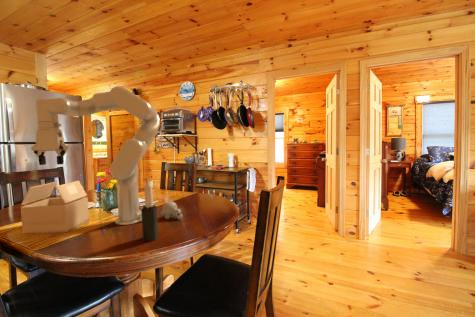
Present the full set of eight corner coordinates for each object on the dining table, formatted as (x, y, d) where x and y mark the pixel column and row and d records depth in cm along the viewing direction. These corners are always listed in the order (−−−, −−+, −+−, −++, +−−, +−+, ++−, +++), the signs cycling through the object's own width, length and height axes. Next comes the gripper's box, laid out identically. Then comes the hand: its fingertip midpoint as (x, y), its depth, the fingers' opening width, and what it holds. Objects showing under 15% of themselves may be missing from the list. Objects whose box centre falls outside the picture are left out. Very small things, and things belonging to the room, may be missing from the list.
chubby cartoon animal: (174, 226, 114) (179, 212, 112) (157, 215, 118) (161, 200, 116) (184, 221, 120) (188, 207, 118) (167, 211, 125) (171, 197, 123)
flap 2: (54, 186, 101) (56, 186, 101) (77, 180, 116) (79, 180, 116) (64, 203, 101) (65, 203, 101) (86, 195, 117) (87, 195, 117)
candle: (158, 235, 96) (156, 176, 95) (155, 241, 91) (152, 178, 90) (146, 236, 96) (143, 176, 94) (142, 241, 91) (138, 178, 89)
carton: (89, 219, 119) (88, 196, 118) (66, 232, 101) (64, 206, 101) (51, 221, 118) (49, 197, 117) (21, 234, 101) (19, 207, 100)
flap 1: (57, 182, 116) (56, 181, 116) (30, 188, 100) (29, 187, 100) (49, 196, 116) (48, 196, 116) (22, 205, 101) (20, 204, 100)
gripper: (73, 126, 110) (76, 163, 112) (35, 127, 110) (38, 164, 111) (62, 125, 103) (65, 164, 104) (21, 126, 102) (25, 165, 103)
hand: (51, 164), depth 108 cm, fingers open, 7 cm apart
